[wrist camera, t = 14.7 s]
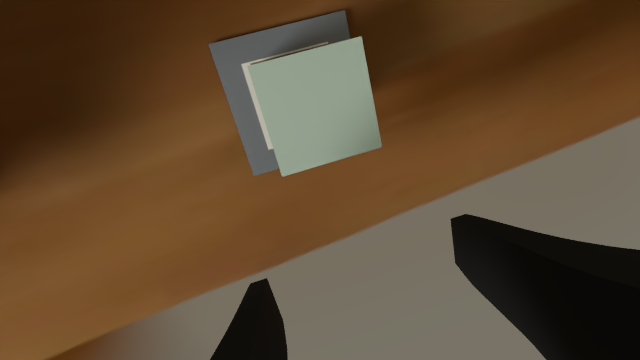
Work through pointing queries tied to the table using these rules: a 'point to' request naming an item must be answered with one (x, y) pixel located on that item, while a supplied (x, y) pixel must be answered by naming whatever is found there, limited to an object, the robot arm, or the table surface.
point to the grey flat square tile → (258, 47)
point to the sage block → (317, 105)
